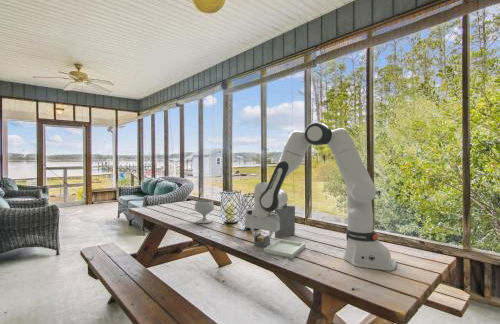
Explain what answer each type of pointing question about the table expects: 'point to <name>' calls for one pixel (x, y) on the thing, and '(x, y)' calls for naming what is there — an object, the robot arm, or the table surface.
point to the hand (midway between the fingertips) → (261, 237)
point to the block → (260, 239)
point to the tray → (285, 248)
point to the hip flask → (286, 221)
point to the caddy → (266, 242)
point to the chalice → (204, 209)
